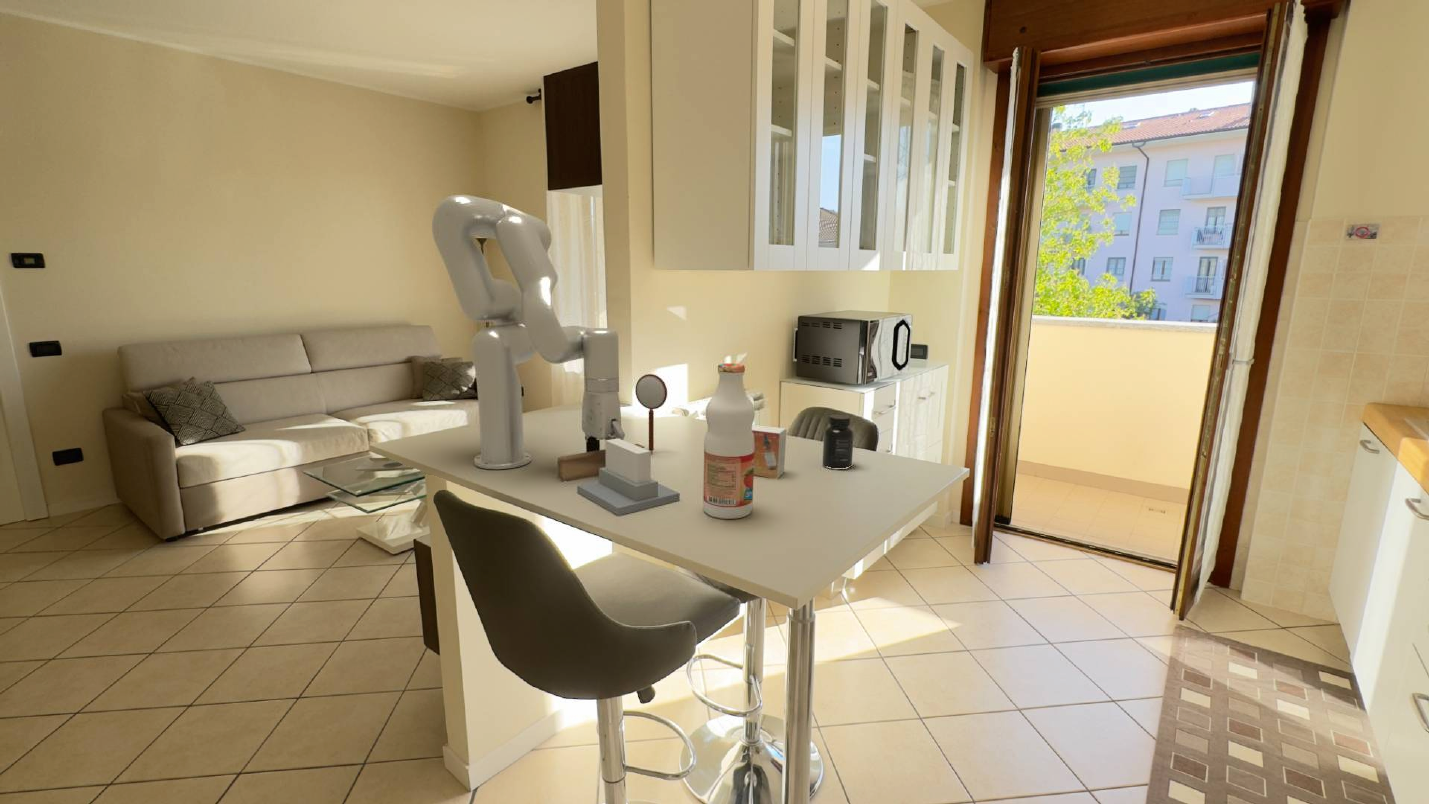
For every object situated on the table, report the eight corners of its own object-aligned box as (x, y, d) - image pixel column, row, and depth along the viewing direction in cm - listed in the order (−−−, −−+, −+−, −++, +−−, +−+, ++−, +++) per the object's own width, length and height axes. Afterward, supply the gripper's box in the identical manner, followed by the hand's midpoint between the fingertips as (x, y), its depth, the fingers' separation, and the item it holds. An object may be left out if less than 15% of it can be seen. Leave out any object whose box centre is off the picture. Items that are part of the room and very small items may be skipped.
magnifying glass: (668, 455, 159) (668, 375, 155) (664, 457, 157) (665, 376, 153) (637, 450, 162) (637, 372, 158) (634, 452, 161) (633, 373, 157)
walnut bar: (558, 479, 140) (557, 457, 139) (637, 464, 152) (637, 443, 151) (564, 483, 137) (563, 460, 136) (644, 467, 150) (644, 446, 149)
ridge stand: (577, 492, 131) (576, 442, 129) (635, 479, 140) (635, 432, 138) (618, 515, 119) (617, 461, 117) (679, 500, 128) (680, 449, 126)
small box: (743, 474, 145) (744, 429, 143) (751, 467, 150) (753, 423, 148) (777, 479, 142) (779, 433, 140) (784, 472, 147) (786, 427, 145)
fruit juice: (698, 503, 126) (700, 361, 120) (744, 501, 128) (749, 361, 123) (708, 521, 117) (711, 369, 111) (758, 518, 119) (763, 368, 114)
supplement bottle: (855, 465, 154) (859, 416, 151) (845, 472, 148) (848, 421, 146) (829, 460, 157) (831, 412, 155) (817, 467, 152) (820, 417, 149)
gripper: (567, 381, 145) (569, 456, 148) (606, 393, 132) (608, 474, 135) (597, 378, 150) (598, 450, 153) (637, 389, 137) (638, 468, 140)
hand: (603, 461), depth 144 cm, fingers open, 8 cm apart
